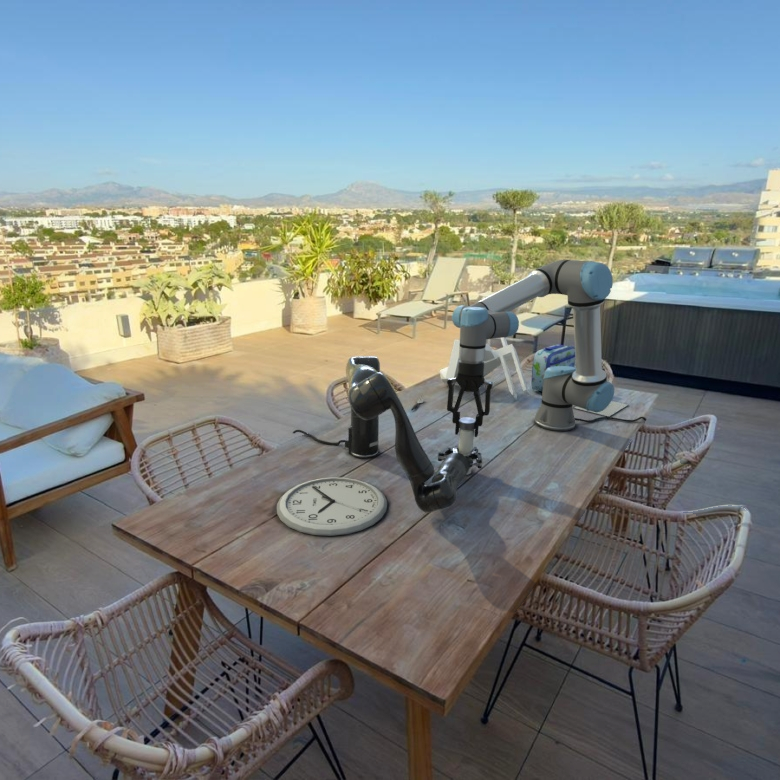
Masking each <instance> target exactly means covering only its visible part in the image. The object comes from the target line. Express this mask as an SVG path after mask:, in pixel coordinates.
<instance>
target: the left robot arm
mask: <svg viewBox="0 0 780 780" xmlns="http://www.w3.org/2000/svg"><path fill="white" fill-rule="evenodd" d="M345 376H346V380H347V383H348V389H347V390H348V391H347V398H348V399H347V400H348V403H349V405H350V425H349V426H348V427H347V429H348V431H347V432H348V437H347V438H345V439H340V440H338V442H331V441H325V440H323V439H322V440H321V439H318V438H317V437H315V436H314V435H312V434H311V433H308V432H306V431H304V430H301V429H294V431H292V434H296V433H301V434H303V435H305V436H307V437H309V438H312V439H313V440H314V441H316V442H317V443H321V444H324V445H329V446H340V444H341V443H344V448H347V449H348V454H349V455H352V456H353V457H355V458H359V459H369V458H370V459H371V458H374V457H376V456H378V455H379V444H380V440H379V434H380V433H379V432H380V431H379V430H380V429H379V427H380V426H379V425H380V424H379V421H380V419H379V417H380V415H382V414H384V413H385V412H387V411H388V410H390V411H391V413H392V415H393V419H394V423H395V439H394V449H395V450H394V451H395V457H396V459H397V462H398V463H399V465H400V467H401V468H402V471H403V472H404V473H405V475H406V477H407V478H408V480H409V484H410V486H411V489H412V492H413V496H414V501H415V505H416V506H417V508H418V509H420V511H422V512H424V513H426V514H429V513H434V512H437V511H441V510H444V509H447V508H450V507H452V506H453V505H455V504H456V502H457V496H458V495H457V492H458V487H459V485H460V484H462V482H463V481H464V479H465V478H466V476H467V475H468V474H467V472H468V470H469V468H471V469H472V468H473V466H475V467H477V469H483V456H482V452H479V449H478V447H477V446H473V450H472V452H467V453H466V454H460V453H458V450H459V443H458V444H456V445H455V446H454V447H452V448H451V447H446V448H444V449H442V450H441V451H438V452H437V461H438V462H441V464H440V465H439V467H438V468H437V471H436V472H435V467H434V465H433V462H432V461H431V460H430V458H429V456H428V454H427V453H426V451H425V450H424V448H423V446H422V444H421V442H420V441H419V438H418V437H417V434H416V432H415V429H414V428H413V426H412V425H413V424H412V422H411V421H410V418H409V416H408V414H407V412H406V409H405V407H404V406H403V403H402V402H401V399H400V397H399V395H398V394H397V391H396V389H395V388H394V385H393V384H392V382H391V381H390V380H389V378H388V377H387V376H386V375H385V374H384V373H382V372H381V363H380V360H379V358H378V357H377V356H372V355H371V356H370V355H369V356H351V357H350V358H349V359H348V360H347V362H346V365H345ZM307 433H308V434H307ZM466 474H467V475H466ZM430 479H431V483H428V484H427V482H428V481H429V480H430Z"/></svg>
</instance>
